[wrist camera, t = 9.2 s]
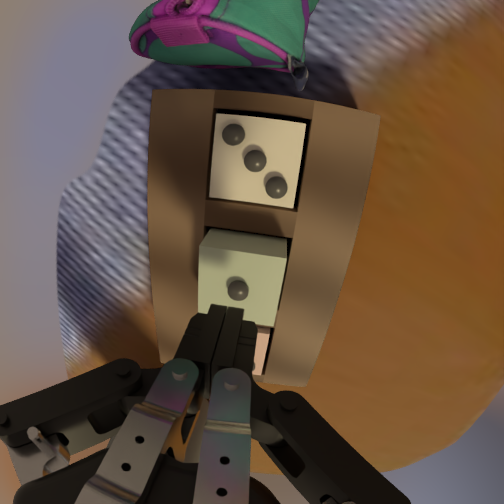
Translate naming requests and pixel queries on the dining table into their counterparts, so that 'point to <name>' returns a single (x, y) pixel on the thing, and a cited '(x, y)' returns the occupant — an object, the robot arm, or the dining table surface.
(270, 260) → the button one dot
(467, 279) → the dining table surface
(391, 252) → the dining table surface
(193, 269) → the button panel
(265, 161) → the button three dots
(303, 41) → the pencil case
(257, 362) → the button two dots
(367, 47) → the dining table surface
